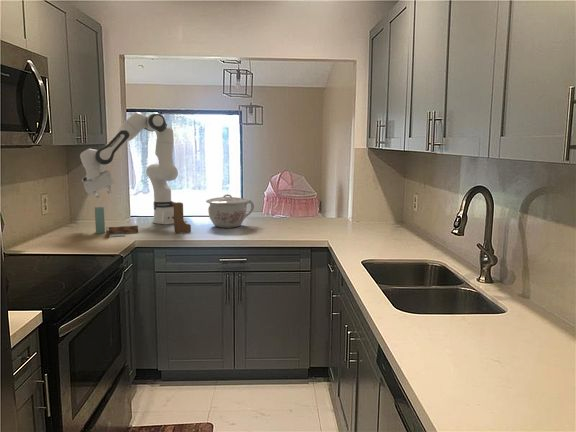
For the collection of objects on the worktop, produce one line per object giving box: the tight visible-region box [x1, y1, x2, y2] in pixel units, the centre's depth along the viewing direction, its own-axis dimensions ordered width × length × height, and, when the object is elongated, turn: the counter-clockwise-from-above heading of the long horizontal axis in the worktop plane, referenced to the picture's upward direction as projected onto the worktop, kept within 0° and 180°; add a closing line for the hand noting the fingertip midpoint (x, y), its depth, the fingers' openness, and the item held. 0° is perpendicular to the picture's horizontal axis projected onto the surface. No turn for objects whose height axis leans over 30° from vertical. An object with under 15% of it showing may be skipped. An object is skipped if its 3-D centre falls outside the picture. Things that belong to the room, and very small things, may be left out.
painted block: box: [94, 206, 106, 234], centre depth 287 cm, size 5×5×15 cm
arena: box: [105, 225, 139, 239], centre depth 282 cm, size 18×13×4 cm
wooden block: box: [173, 201, 192, 234], centre depth 290 cm, size 9×4×18 cm, turn 123°
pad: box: [109, 233, 126, 238], centre depth 280 cm, size 8×8×1 cm
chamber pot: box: [205, 194, 255, 229], centre depth 312 cm, size 28×28×21 cm
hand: (104, 195), depth 302 cm, fingers open, 8 cm apart
